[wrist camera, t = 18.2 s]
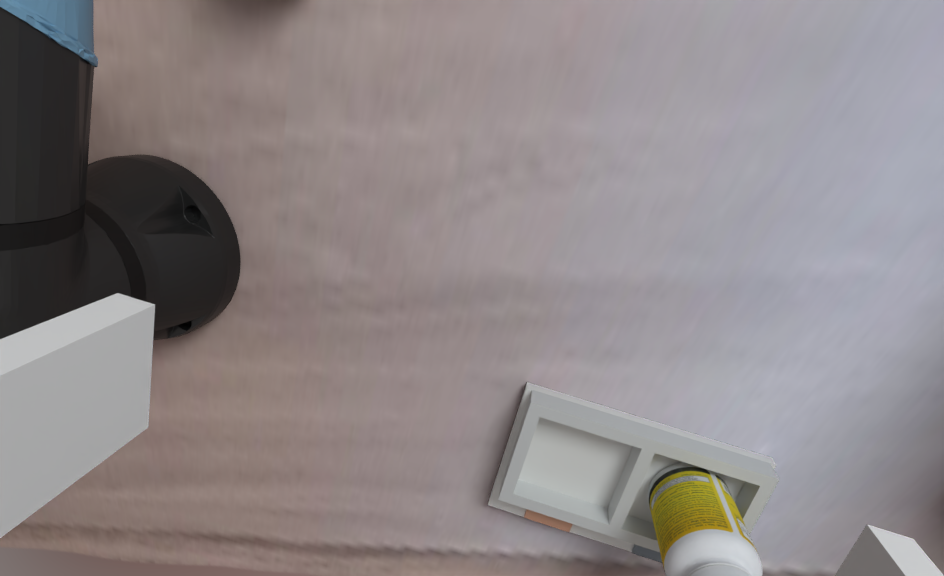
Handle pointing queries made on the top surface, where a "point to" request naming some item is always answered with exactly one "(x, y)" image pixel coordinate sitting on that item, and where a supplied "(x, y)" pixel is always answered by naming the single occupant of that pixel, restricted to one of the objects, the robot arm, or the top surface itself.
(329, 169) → the top surface
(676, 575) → the pill bottle
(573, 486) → the socket board
